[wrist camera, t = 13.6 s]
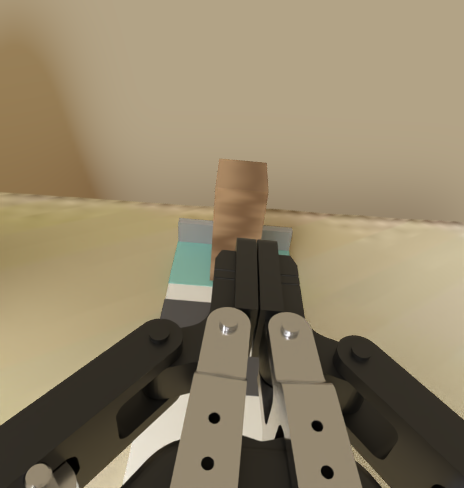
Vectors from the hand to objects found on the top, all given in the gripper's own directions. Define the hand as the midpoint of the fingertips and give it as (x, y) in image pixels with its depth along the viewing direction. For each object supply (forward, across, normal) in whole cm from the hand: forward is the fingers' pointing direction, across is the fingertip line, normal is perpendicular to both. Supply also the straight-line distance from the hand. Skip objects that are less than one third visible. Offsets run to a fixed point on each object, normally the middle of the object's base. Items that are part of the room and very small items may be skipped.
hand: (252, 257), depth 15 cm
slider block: (+25, 0, +21) cm, 33 cm away
